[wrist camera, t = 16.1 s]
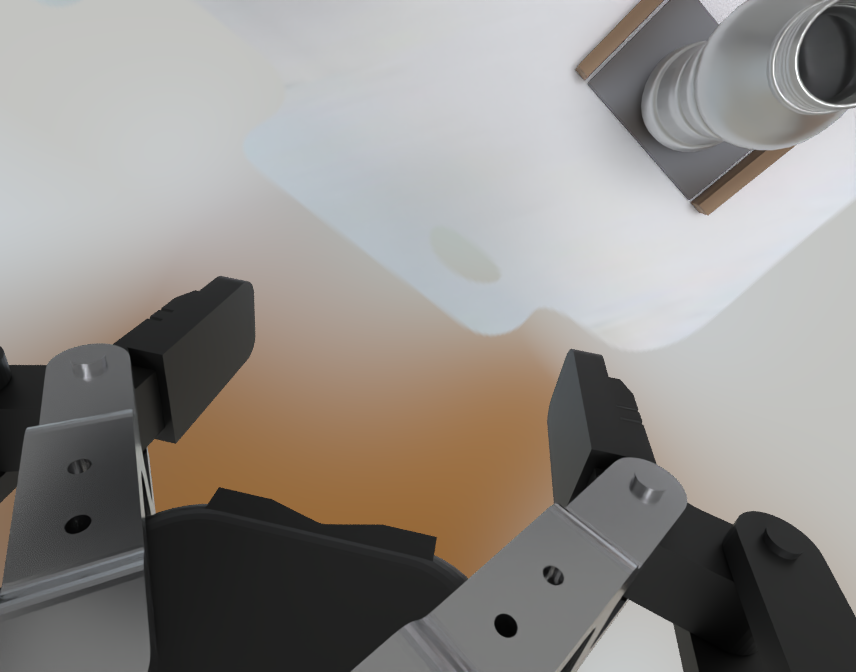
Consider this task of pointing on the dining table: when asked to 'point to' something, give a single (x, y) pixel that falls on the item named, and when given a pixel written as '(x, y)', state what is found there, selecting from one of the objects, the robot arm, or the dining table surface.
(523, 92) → the dining table surface
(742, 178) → the wooden tray frame
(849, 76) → the plastic bottle
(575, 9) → the dining table surface
